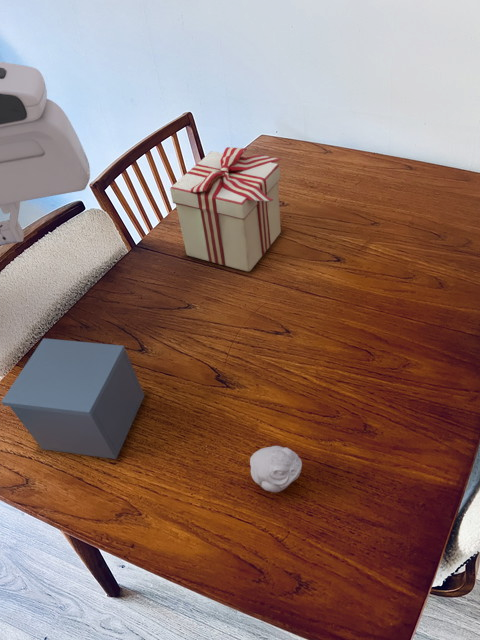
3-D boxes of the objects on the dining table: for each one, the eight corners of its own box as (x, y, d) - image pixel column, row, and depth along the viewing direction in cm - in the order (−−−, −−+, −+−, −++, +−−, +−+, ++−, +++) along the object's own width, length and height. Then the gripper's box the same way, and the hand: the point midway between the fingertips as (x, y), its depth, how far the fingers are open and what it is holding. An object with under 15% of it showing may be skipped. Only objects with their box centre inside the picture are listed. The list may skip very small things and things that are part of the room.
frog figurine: (292, 511, 66) (290, 484, 61) (244, 492, 68) (237, 465, 63) (310, 472, 70) (309, 443, 65) (263, 455, 72) (258, 427, 67)
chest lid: (3, 405, 67) (0, 401, 67) (45, 341, 75) (43, 338, 74) (91, 416, 65) (89, 412, 65) (125, 349, 73) (124, 345, 72)
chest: (41, 449, 75) (9, 406, 67) (76, 387, 82) (50, 342, 75) (116, 459, 73) (91, 416, 65) (144, 395, 80) (125, 349, 73)
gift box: (269, 277, 97) (261, 193, 84) (182, 261, 102) (162, 179, 89) (299, 227, 107) (296, 145, 94) (219, 214, 112) (205, 135, 99)
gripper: (-218, 137, 40) (-105, 280, 50) (54, 94, 42) (108, 239, 52) (-189, 104, 44) (-90, 243, 54) (58, 67, 46) (107, 207, 56)
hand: (9, 241), depth 53 cm, fingers closed
